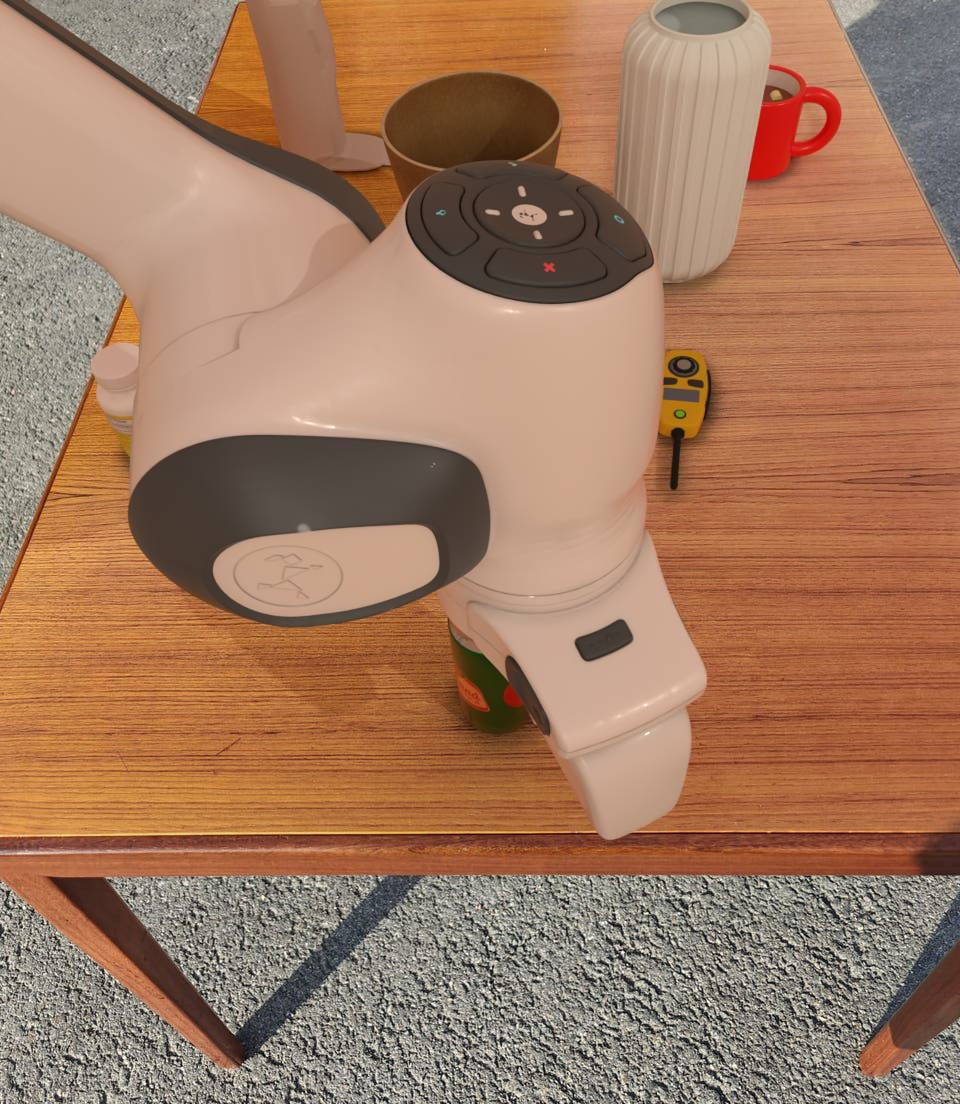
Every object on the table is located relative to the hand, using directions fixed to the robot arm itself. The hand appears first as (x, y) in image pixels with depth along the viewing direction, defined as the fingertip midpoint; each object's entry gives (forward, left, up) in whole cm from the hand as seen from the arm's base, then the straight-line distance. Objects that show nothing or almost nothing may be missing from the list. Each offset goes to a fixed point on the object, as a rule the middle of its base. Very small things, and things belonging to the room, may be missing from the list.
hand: (536, 698), depth 50 cm
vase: (+35, +41, -11) cm, 55 cm away
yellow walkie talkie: (+24, +22, -11) cm, 34 cm away
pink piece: (+14, +74, -11) cm, 76 cm away
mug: (+53, +50, -11) cm, 73 cm away
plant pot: (+18, +47, -11) cm, 51 cm away
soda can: (0, +6, -11) cm, 12 cm away
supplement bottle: (-15, +40, -11) cm, 44 cm away
